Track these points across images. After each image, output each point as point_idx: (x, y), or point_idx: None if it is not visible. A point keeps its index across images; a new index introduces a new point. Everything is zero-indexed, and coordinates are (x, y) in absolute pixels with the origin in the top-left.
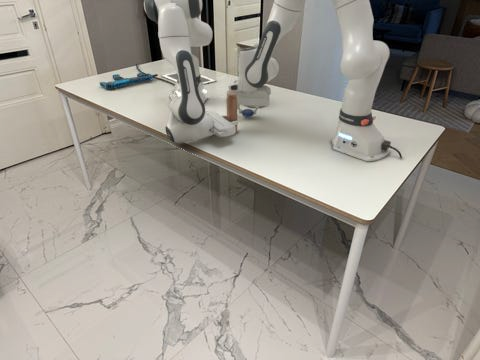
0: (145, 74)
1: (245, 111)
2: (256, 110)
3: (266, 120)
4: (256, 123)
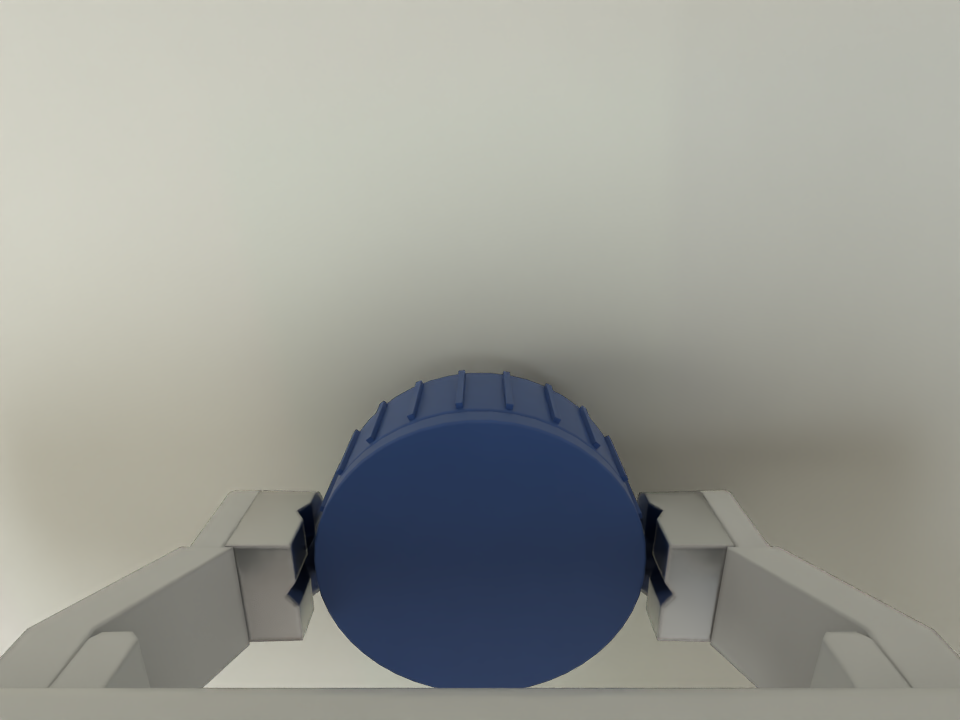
0: None
1: (418, 613)
2: (765, 664)
3: (891, 536)
4: (675, 675)
